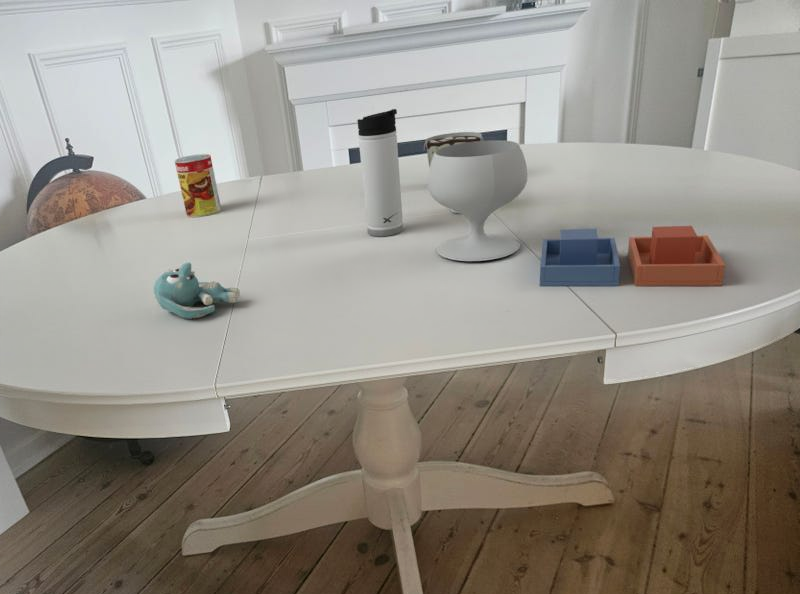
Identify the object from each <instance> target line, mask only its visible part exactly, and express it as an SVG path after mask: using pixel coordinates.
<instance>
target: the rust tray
mask: <svg viewBox="0 0 800 594" xmlns="http://www.w3.org/2000/svg"><path fill="white" fill-rule="evenodd" d="M697 236H698V238H697V245H696V252H695V258H694V264H650V261H649V254H650V246H651V237H652V236H635V237H634V236H630V237H628V247H627V248H628V249H627V258H628V262H629V267H630V271H631V275H632V279H633V284H634V286H635V287H722V286H723V280H724V277H725V270H726V263H725V262H724V261H723V259H722V257H721V255H720V254H719V252H718V251H717V249H716V247H715V246H714V244H713V242H712V240H711V239H710V237H709V235H704V234H703V235H697Z"/></svg>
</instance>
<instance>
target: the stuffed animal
mask: <svg viewBox="0 0 800 594" xmlns="http://www.w3.org/2000/svg"><path fill="white" fill-rule="evenodd" d="M195 273H196V272H195V271H193V270H192V263H191V262H190V261H189V262H185V263H183V264H182V265H181V266H180V267H178V268H176V269H170V268H168V269H166V270H165V271H164V272H163V273H162V274H161V275H160V276H159V277H158V278H157V279H156V280H155V282H154V285H153V294H154V297H155V299H156V302H157V304H158V305H159V306H160V307H161V308H162V309H163V310H166V311H168V312H171V313H172V314H175V315H177V316H178V317H181V318H182V319H189V320H193V319H198V318H203V317H205V316H207V315H209V314H211V313H214V312H215V311H216V307H215V305H214V303H215V304H216V303H220V302H222V301H223V302H226V303H231V304H234V303H236V302H237V300H238V298H239V297H240V293H241V292H240V289H239V288H236V287H227V288H225V287H224V286H222V285H221V283H220V282H219V281H214V280H213V281H205V282H204V281H199V279H198V278H197V277H196V275H195ZM196 301H198V302H200V303H203V304H204V305H205V306H194V305H195V303H196ZM192 318H193V319H192Z"/></svg>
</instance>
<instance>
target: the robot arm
mask: <svg viewBox="0 0 800 594" xmlns="http://www.w3.org/2000/svg"><path fill="white" fill-rule="evenodd" d="M717 1H718V3H720V4H725V3H732V2H734V3H736V4H747V3H752V2H754V1H755V0H717Z"/></svg>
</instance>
